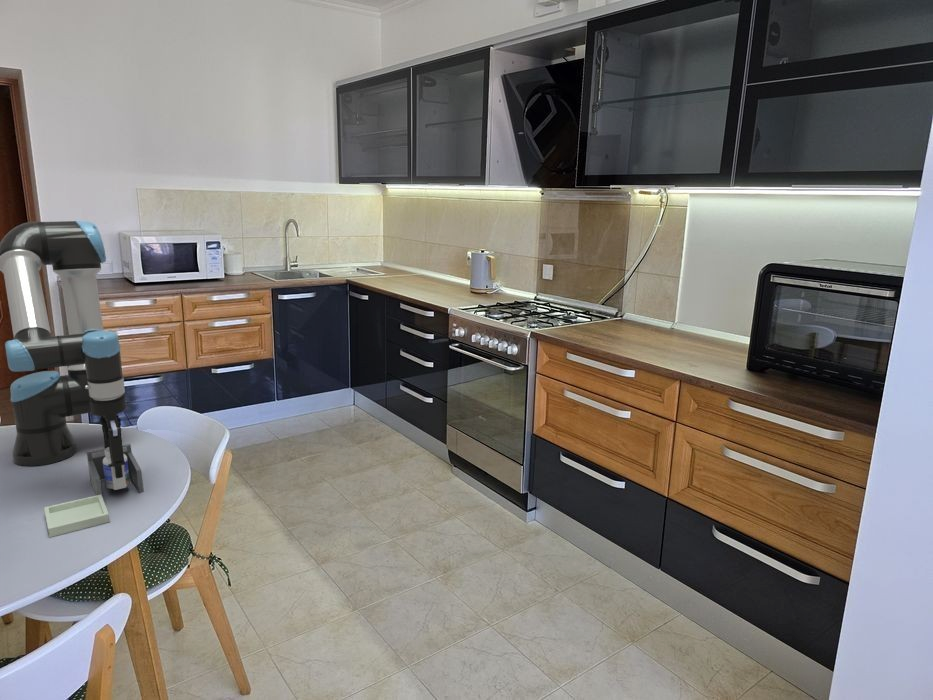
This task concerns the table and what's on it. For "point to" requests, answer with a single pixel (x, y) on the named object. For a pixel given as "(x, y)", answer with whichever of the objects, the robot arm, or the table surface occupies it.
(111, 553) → the table surface
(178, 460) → the table surface
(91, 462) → the bay
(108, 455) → the pill bottle
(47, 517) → the tray
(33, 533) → the table surface
